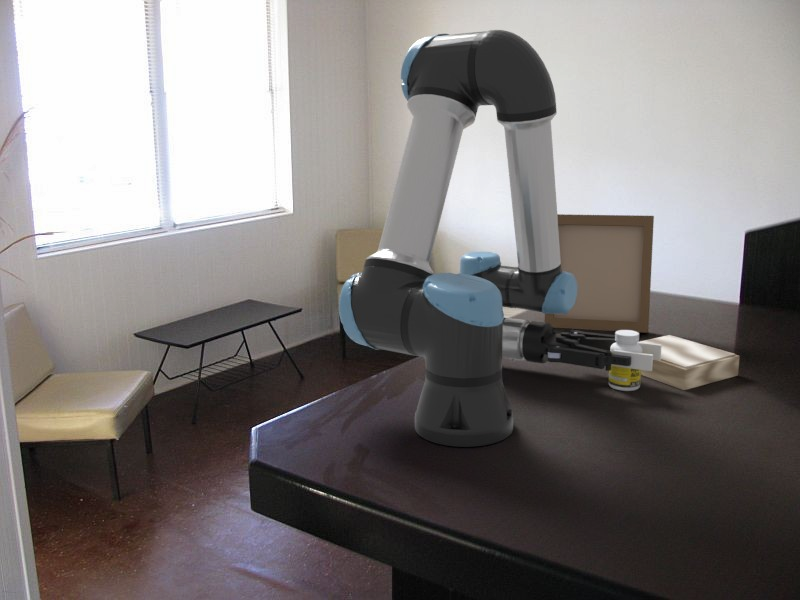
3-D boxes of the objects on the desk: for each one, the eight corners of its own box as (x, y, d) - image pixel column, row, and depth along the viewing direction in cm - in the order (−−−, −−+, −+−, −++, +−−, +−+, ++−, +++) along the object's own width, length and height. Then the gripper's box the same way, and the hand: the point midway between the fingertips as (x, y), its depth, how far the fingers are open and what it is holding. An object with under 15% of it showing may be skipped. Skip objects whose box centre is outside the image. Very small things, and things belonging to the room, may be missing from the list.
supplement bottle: (633, 394, 136) (636, 338, 133) (603, 388, 139) (605, 333, 137) (645, 385, 140) (647, 331, 138) (615, 379, 143) (617, 326, 141)
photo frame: (648, 337, 168) (654, 219, 162) (544, 331, 174) (546, 217, 169) (648, 320, 182) (653, 210, 176) (551, 315, 188) (554, 209, 182)
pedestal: (684, 390, 137) (685, 368, 136) (616, 365, 150) (617, 345, 149) (737, 375, 144) (739, 354, 143) (668, 353, 157) (669, 333, 156)
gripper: (545, 346, 156) (667, 363, 144) (508, 375, 140) (642, 395, 128) (545, 309, 154) (669, 323, 142) (508, 333, 138) (644, 351, 127)
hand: (656, 357), depth 135 cm, fingers open, 6 cm apart
